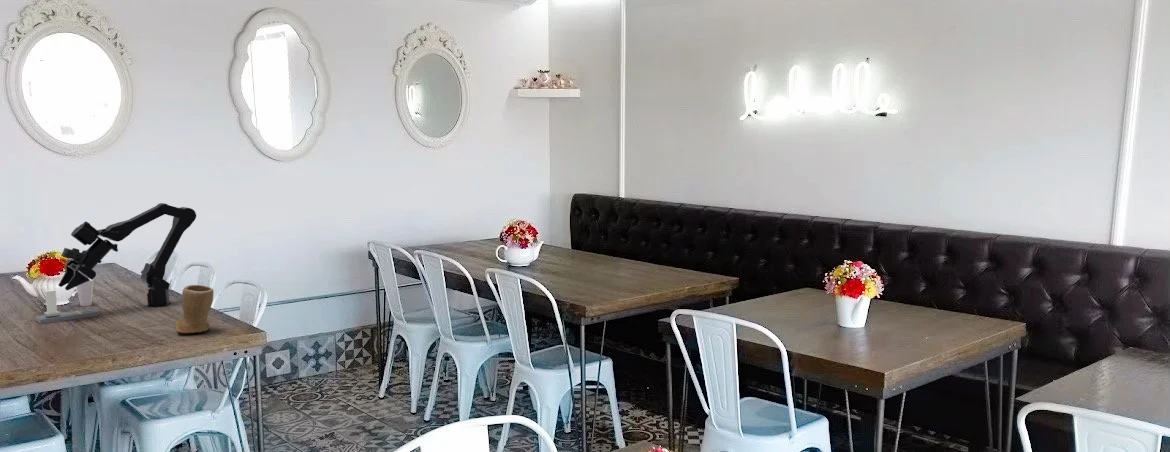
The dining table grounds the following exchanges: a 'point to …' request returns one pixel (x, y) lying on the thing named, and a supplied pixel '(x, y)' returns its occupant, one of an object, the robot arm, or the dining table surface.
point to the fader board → (67, 316)
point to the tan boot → (195, 309)
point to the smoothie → (85, 293)
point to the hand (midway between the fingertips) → (62, 287)
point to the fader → (51, 303)
